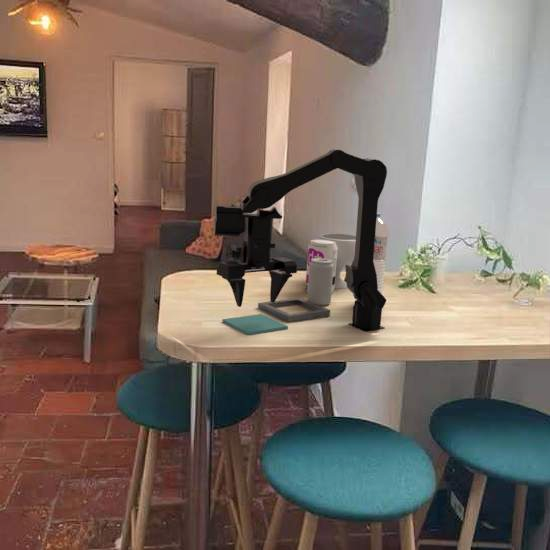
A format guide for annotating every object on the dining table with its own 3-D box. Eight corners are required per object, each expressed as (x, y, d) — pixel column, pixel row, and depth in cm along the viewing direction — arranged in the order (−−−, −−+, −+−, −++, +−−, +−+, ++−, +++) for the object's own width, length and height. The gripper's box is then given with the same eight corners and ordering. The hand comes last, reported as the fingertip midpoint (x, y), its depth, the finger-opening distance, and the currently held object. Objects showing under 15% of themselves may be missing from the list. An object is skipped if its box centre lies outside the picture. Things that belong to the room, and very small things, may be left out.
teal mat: (287, 328, 144) (288, 326, 144) (247, 335, 138) (247, 332, 138) (261, 316, 153) (261, 313, 153) (222, 321, 147) (222, 319, 146)
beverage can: (334, 303, 169) (338, 260, 166) (323, 308, 163) (327, 263, 161) (313, 299, 172) (316, 256, 169) (302, 303, 166) (305, 259, 164)
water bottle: (351, 305, 167) (359, 212, 162) (360, 300, 173) (368, 210, 168) (376, 310, 164) (385, 215, 159) (384, 305, 170) (393, 213, 165)
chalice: (367, 285, 192) (371, 237, 188) (345, 293, 180) (350, 242, 177) (327, 278, 199) (331, 231, 196) (304, 285, 188) (307, 235, 185)
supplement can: (319, 298, 173) (323, 244, 170) (299, 291, 180) (302, 240, 176) (339, 294, 179) (343, 242, 175) (319, 288, 185) (323, 238, 181)
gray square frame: (329, 315, 156) (330, 310, 156) (288, 322, 149) (288, 316, 149) (298, 303, 167) (298, 297, 166) (257, 308, 159) (258, 303, 159)
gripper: (272, 230, 153) (269, 292, 156) (205, 233, 142) (203, 300, 145) (300, 237, 144) (296, 303, 147) (231, 241, 133) (228, 312, 136)
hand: (256, 304), depth 144 cm, fingers open, 9 cm apart
